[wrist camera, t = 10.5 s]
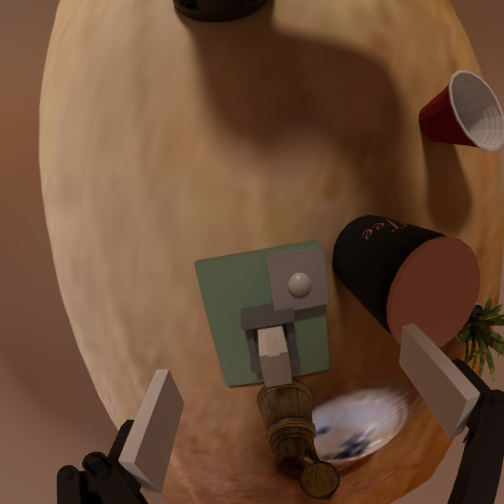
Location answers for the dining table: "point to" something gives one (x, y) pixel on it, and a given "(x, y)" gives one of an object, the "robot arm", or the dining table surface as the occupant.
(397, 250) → the coffee jar
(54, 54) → the dining table surface
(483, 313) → the house plant
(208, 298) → the board
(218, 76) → the dining table surface
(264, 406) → the wooden mug
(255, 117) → the dining table surface
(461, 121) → the plastic cup
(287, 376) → the plug
